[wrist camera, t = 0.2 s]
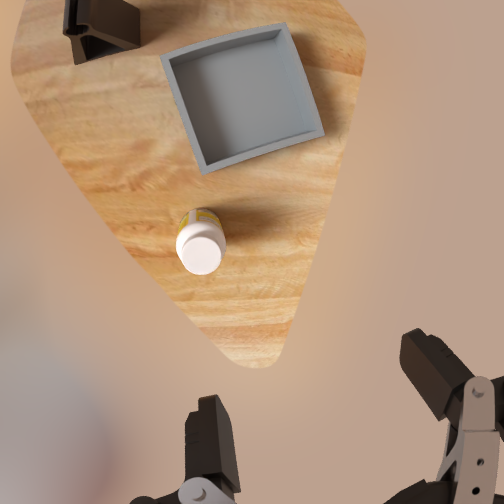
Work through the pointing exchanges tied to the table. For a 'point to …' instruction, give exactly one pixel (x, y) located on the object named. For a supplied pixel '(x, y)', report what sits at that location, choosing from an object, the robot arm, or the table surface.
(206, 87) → the bin
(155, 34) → the table surface
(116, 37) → the phone stand
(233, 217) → the table surface
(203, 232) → the supplement bottle
